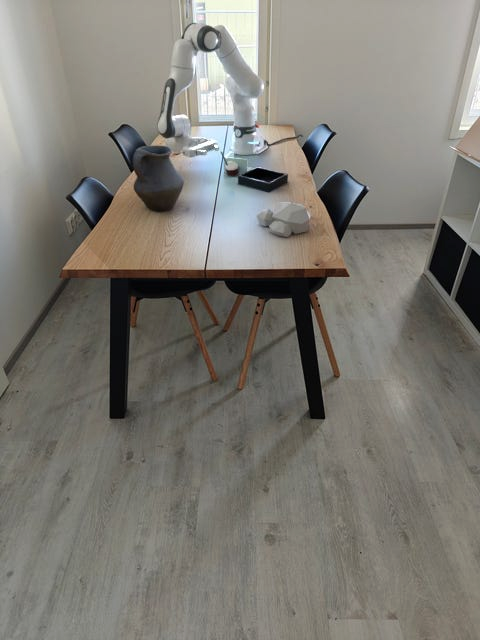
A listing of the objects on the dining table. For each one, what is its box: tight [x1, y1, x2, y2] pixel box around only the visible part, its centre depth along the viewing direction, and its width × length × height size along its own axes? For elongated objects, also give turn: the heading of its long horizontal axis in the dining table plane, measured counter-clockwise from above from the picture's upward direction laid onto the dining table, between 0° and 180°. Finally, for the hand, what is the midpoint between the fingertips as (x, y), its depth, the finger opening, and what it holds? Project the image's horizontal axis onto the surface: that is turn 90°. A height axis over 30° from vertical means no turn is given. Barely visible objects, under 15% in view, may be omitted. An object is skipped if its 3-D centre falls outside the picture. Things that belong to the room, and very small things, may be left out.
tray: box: [237, 166, 289, 193], centre depth 205 cm, size 16×18×4 cm
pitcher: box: [132, 145, 185, 212], centre depth 176 cm, size 21×22×25 cm
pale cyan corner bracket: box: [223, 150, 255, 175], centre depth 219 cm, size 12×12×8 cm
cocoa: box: [220, 151, 239, 177], centre depth 212 cm, size 10×6×12 cm, turn 88°
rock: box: [256, 200, 311, 238], centre depth 165 cm, size 18×20×10 cm
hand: (212, 151), depth 215 cm, fingers open, 8 cm apart
